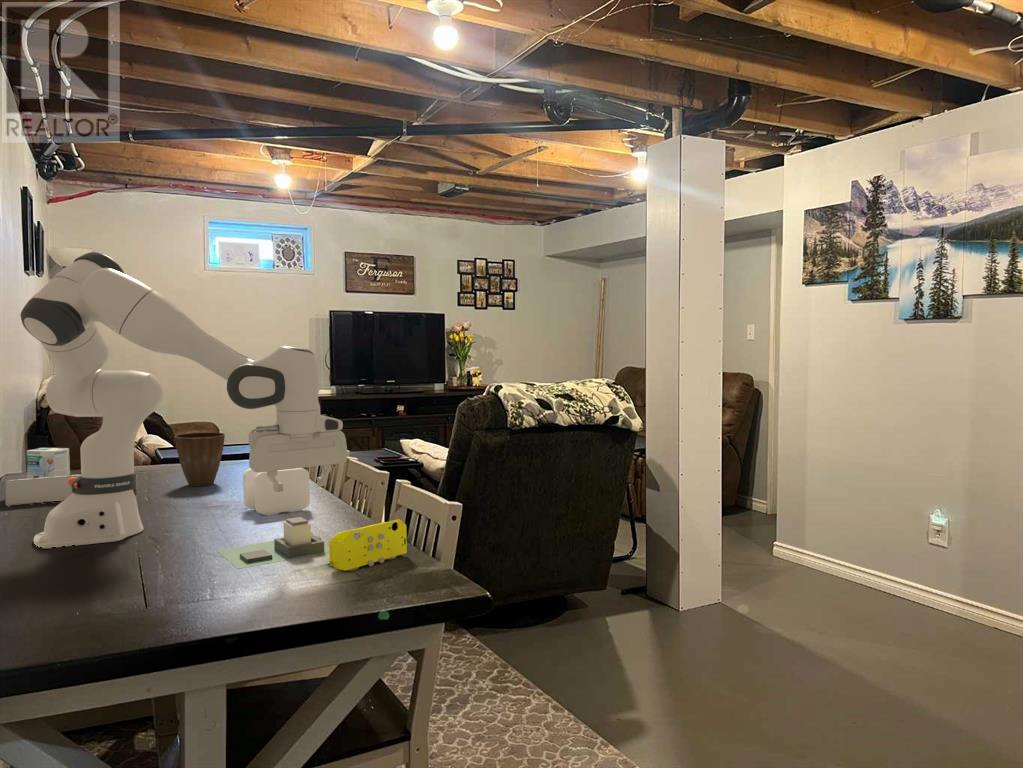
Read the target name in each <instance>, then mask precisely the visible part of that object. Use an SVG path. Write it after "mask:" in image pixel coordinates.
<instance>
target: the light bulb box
mask: <svg viewBox="0 0 1023 768" xmlns="http://www.w3.org/2000/svg"><path fill="white" fill-rule="evenodd" d="M70 462H71V461H70V448H69V447H68V448H67V447H38V448H34V449H28V450H26V463H27V464H26V466H27V468H26V469H27V479H29V478H42V477H55V476H67V475H71V471H70V470H71V468H70V467H71V466H70Z"/></svg>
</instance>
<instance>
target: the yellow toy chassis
mask: <svg viewBox="0 0 1023 768" xmlns="http://www.w3.org/2000/svg"><path fill="white" fill-rule="evenodd" d="M407 528H408V527H407V524H406V523H405V522H404V521H402V520H401V519H395V520H390V521H387V522H386V521H384V522H379V523H375V524H371V525H370V524H369V525H367V526H362V527H358V528H353V529H349V530H344V531H342V532H336V534H335V535H334V536H332V538H331V539H330V540H329V542H328V543H329V545H328V547H329V567H332V566H333V567H334V568H335V569H337V570H340V571H345V572H346V571H348V572H349V571H352V572H353V571H356V570H358V569H360V567H363V566H366V565H368V566H369V567H372V566H374V565H375V563H376V562H379V564H383V563H384V562H385V560H395V559H396V558H397V556H401V555H404V554H407V553H408V551H407V550H408V542H407V540H408V538H407V537H408V535H407V534H408V533H407V532H408V531H407Z"/></svg>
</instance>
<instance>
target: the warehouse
mask: <svg viewBox="0 0 1023 768" xmlns="http://www.w3.org/2000/svg"><path fill="white" fill-rule="evenodd" d="M80 476H81V474H72V475H71V474H70V475H67V476H55V477H42V478H29V479H28V478H19V479H16V478H15V479H8V480H4V484H3V486H4V504H5V505H8V504H17V503H31V502H44V501H63V500H65V499H66V498H68V497H69V496H70V495H71V494H73V492H72V486H70V485H69V484H68V480H70V479H69V478H71V477H75V478H76V479H77V478H79V477H80ZM5 505H4V506H5Z"/></svg>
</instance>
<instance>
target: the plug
mask: <svg viewBox="0 0 1023 768" xmlns="http://www.w3.org/2000/svg"><path fill="white" fill-rule="evenodd" d="M311 524H312V523H310V522H309V520H307V519H305V518H304V517H302V516H298V517H291V518H286V519H285V521H283V537H284V542H286V543H288V544H289V545H291V546H294V545H300V544H306V543H311V535H312V528H311V527H312V525H311Z"/></svg>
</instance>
